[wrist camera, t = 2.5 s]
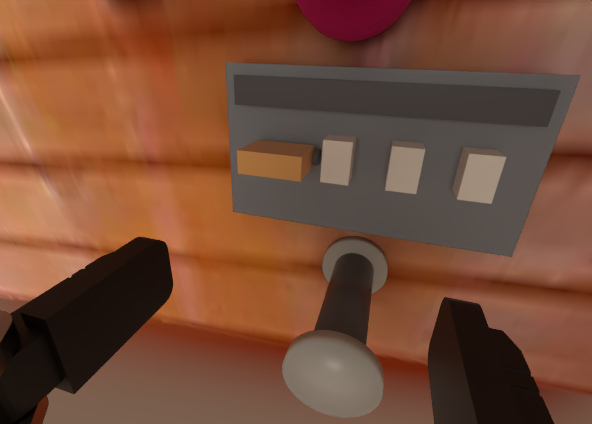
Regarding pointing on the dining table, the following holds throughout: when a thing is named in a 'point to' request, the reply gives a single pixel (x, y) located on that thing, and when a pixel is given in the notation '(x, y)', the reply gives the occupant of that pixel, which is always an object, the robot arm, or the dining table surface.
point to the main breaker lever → (277, 159)
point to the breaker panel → (372, 159)
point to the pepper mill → (352, 16)
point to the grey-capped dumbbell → (341, 335)
